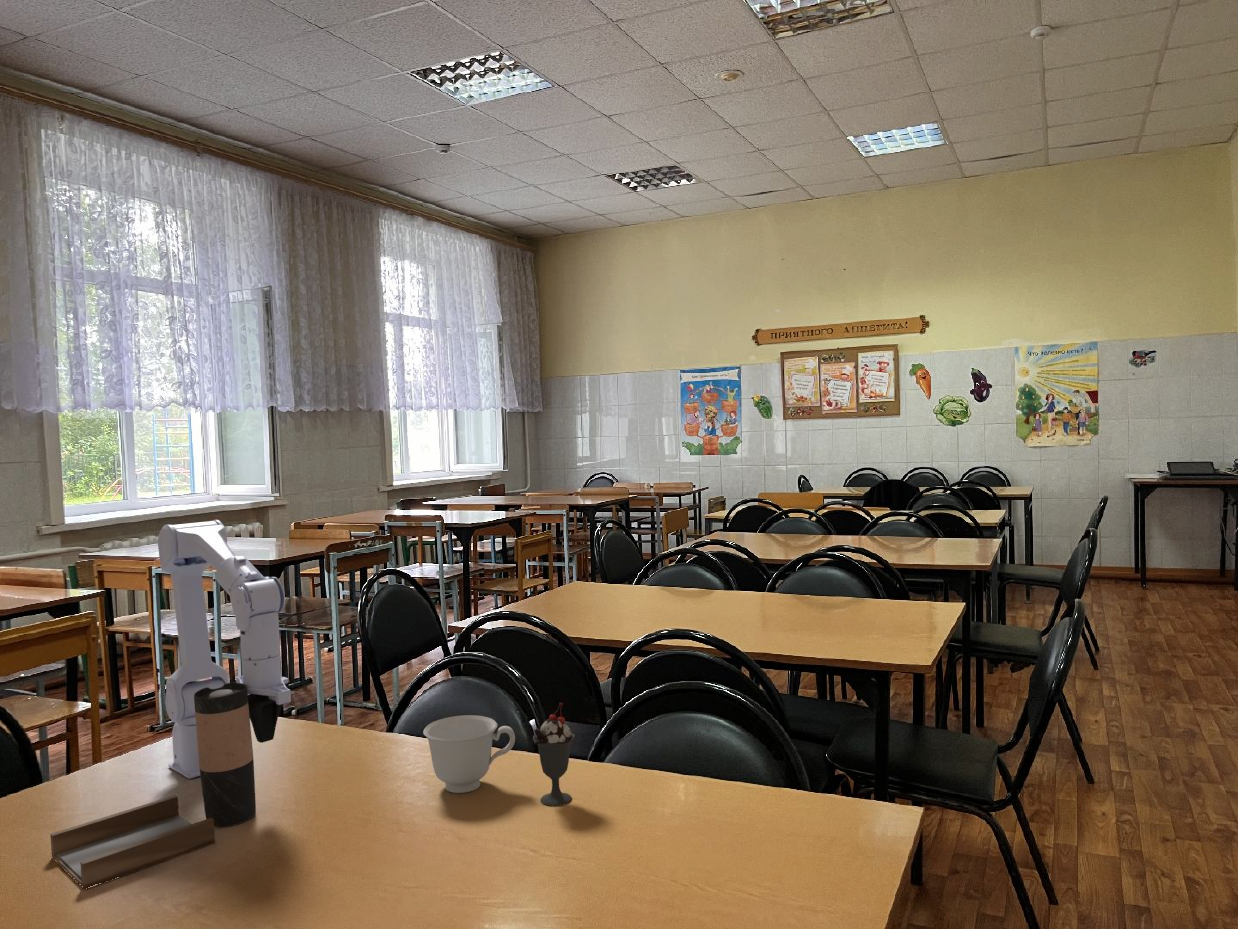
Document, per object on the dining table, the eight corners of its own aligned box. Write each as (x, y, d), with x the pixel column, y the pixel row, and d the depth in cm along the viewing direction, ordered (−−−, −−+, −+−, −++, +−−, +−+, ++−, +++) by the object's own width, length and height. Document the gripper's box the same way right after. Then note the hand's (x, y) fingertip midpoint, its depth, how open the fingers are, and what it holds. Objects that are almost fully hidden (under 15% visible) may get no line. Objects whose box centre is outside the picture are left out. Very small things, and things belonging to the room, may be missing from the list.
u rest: (51, 858, 128) (50, 834, 128) (176, 817, 140) (175, 795, 140) (84, 890, 118) (82, 864, 118) (215, 843, 131) (213, 819, 130)
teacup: (511, 800, 142) (509, 738, 142) (417, 802, 143) (415, 740, 142) (521, 771, 154) (519, 713, 154) (434, 773, 155) (432, 715, 154)
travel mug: (238, 829, 135) (227, 698, 134) (193, 827, 136) (181, 698, 135) (267, 806, 142) (257, 682, 141) (224, 804, 144) (214, 682, 143)
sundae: (579, 791, 145) (576, 699, 144) (573, 809, 138) (570, 712, 138) (539, 791, 146) (536, 699, 145) (531, 808, 139) (527, 712, 138)
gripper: (307, 657, 141) (311, 743, 141) (263, 644, 151) (268, 724, 151) (263, 667, 136) (268, 756, 136) (221, 653, 145) (226, 736, 146)
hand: (265, 740), depth 143 cm, fingers closed
